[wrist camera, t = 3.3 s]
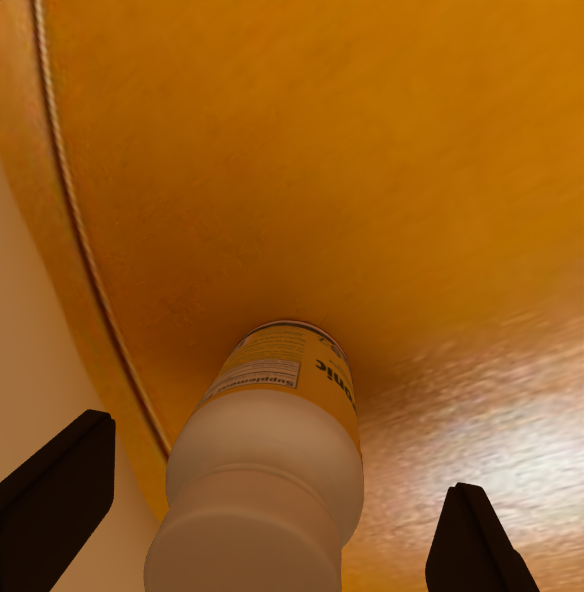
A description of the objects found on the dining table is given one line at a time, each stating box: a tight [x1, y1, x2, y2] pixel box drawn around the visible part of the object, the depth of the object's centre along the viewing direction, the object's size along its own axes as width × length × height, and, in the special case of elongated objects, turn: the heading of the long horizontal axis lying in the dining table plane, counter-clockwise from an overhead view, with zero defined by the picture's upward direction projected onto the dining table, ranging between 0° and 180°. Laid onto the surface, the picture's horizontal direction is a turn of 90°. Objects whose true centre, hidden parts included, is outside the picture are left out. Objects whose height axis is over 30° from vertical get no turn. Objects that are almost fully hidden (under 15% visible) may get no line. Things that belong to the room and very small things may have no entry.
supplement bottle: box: [144, 320, 364, 592], centre depth 12 cm, size 5×5×10 cm
